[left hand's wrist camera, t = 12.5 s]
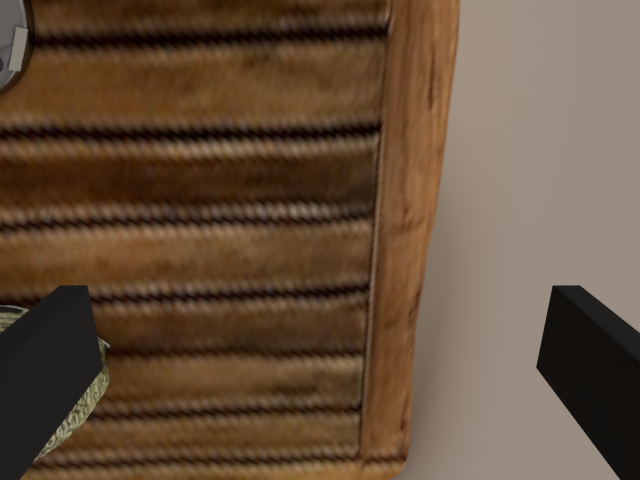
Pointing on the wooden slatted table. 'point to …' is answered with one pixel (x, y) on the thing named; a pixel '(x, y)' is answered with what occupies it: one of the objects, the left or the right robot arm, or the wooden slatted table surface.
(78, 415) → the fossil
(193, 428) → the wooden slatted table surface
